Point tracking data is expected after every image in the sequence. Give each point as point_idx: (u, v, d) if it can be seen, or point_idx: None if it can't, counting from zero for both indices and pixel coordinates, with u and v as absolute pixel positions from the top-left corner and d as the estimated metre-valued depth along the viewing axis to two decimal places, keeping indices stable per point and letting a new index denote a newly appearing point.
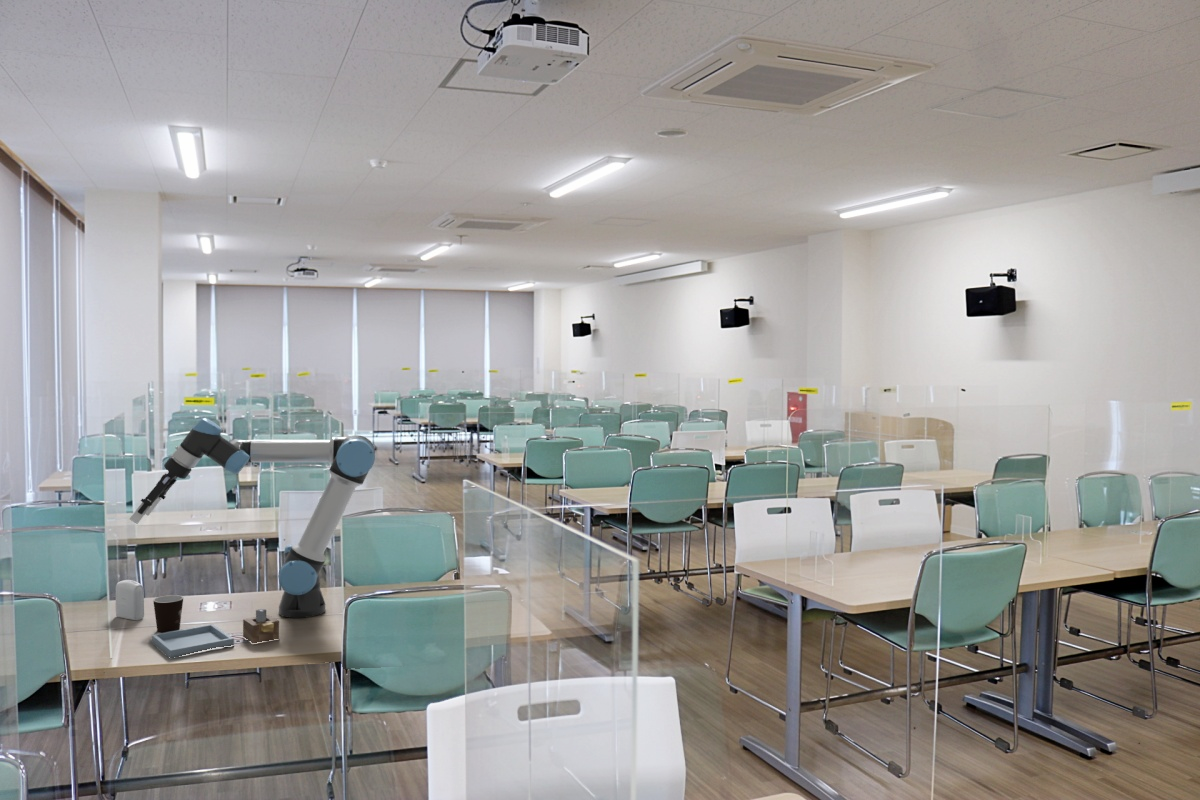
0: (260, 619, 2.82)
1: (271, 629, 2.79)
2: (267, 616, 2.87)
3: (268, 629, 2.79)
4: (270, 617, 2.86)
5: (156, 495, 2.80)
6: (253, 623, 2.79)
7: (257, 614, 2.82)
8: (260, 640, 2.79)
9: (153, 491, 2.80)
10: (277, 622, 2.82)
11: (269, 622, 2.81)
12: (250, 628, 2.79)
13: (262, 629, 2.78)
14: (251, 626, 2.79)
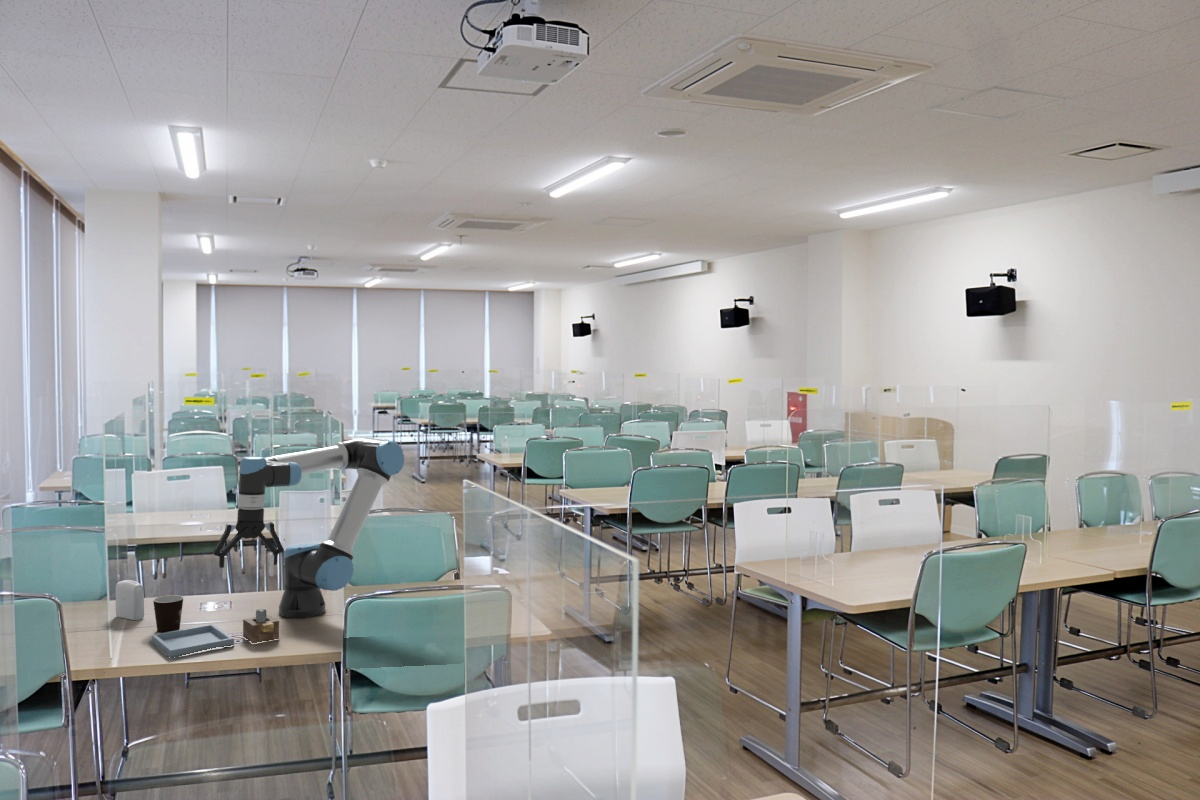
0: (260, 619, 2.82)
1: (271, 629, 2.79)
2: (267, 616, 2.87)
3: (268, 629, 2.79)
4: (270, 617, 2.86)
5: None
6: (253, 623, 2.79)
7: (257, 614, 2.82)
8: (260, 640, 2.79)
9: (278, 539, 2.85)
10: (277, 622, 2.82)
11: (269, 622, 2.81)
12: (250, 628, 2.79)
13: (262, 629, 2.78)
14: (251, 626, 2.79)
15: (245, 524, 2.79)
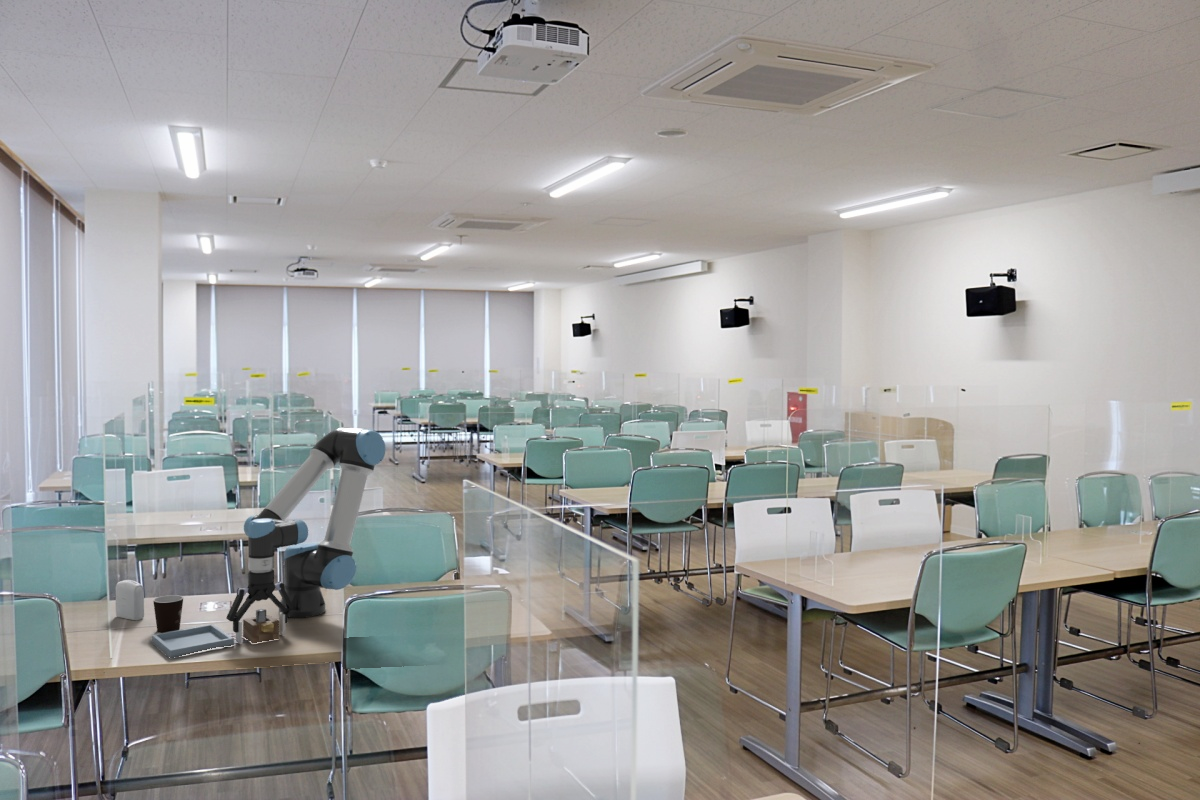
0: (260, 619, 2.82)
1: (271, 629, 2.79)
2: (267, 616, 2.87)
3: (268, 629, 2.79)
4: (270, 617, 2.86)
5: None
6: (253, 623, 2.79)
7: (257, 614, 2.82)
8: (260, 640, 2.79)
9: None
10: (277, 622, 2.82)
11: (269, 622, 2.81)
12: (250, 628, 2.79)
13: (262, 629, 2.78)
14: (251, 626, 2.79)
15: (257, 587, 2.81)
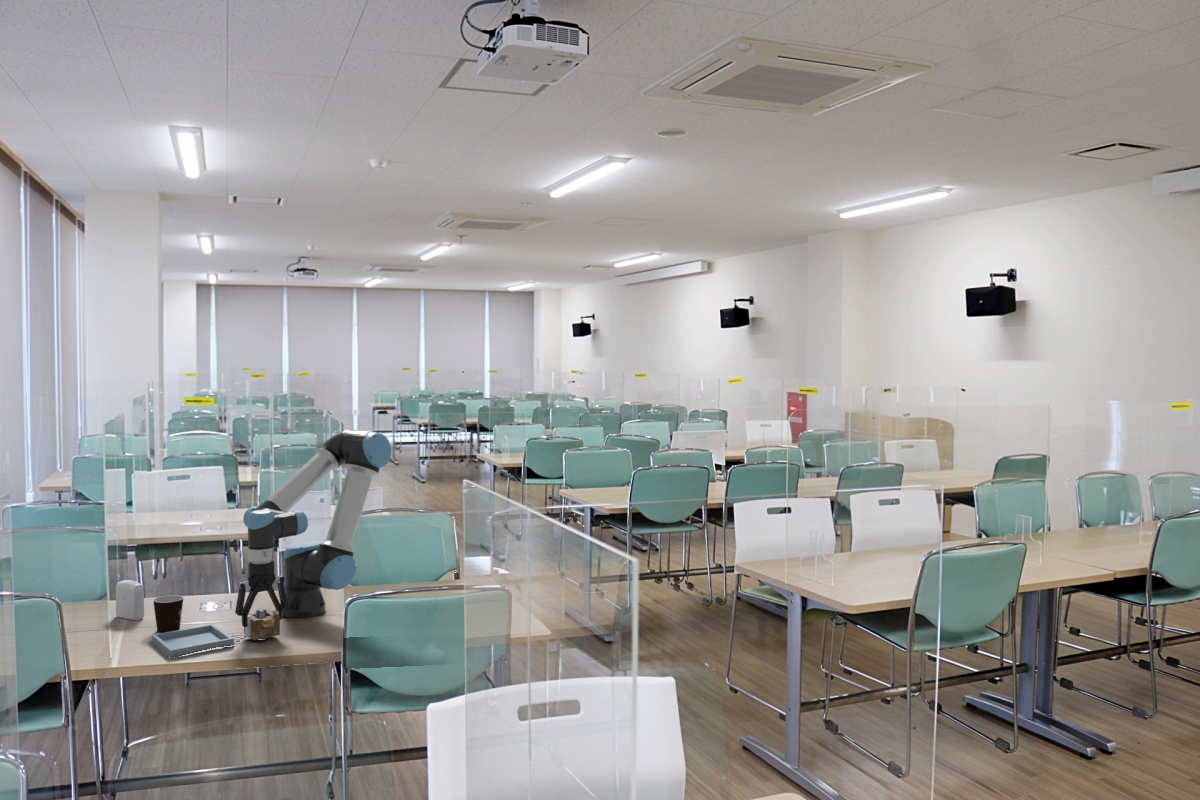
0: None
1: (272, 624, 2.79)
2: (268, 611, 2.87)
3: (269, 624, 2.79)
4: (271, 612, 2.86)
5: None
6: (254, 618, 2.80)
7: (257, 614, 2.82)
8: (261, 635, 2.79)
9: None
10: (278, 617, 2.83)
11: (270, 617, 2.81)
12: (251, 623, 2.79)
13: (263, 624, 2.79)
14: (252, 622, 2.79)
15: (256, 577, 2.80)
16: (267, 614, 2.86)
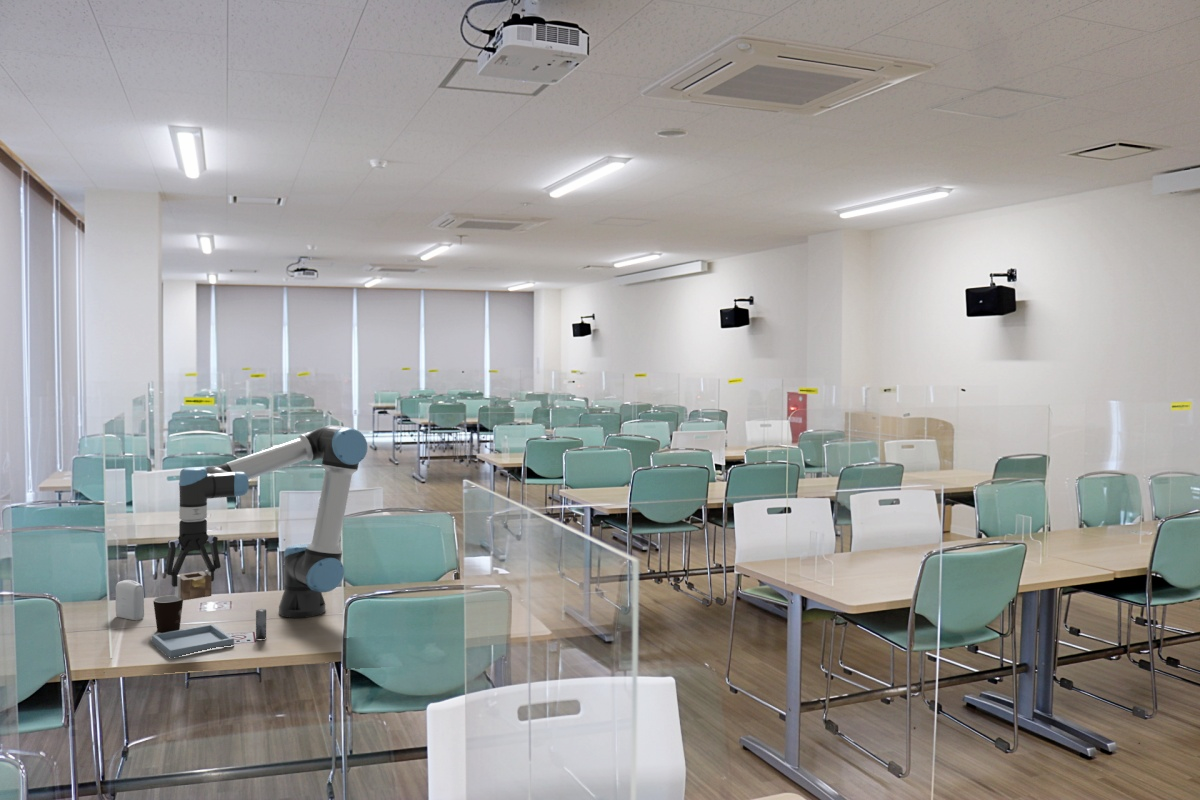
0: (260, 619, 2.82)
1: (202, 584, 2.72)
2: (200, 572, 2.79)
3: (199, 584, 2.71)
4: (203, 573, 2.78)
5: None
6: (184, 578, 2.72)
7: (257, 614, 2.82)
8: (191, 595, 2.72)
9: None
10: (209, 578, 2.75)
11: (201, 577, 2.73)
12: None
13: (193, 584, 2.71)
14: (181, 581, 2.71)
15: (187, 535, 2.73)
16: (199, 575, 2.78)
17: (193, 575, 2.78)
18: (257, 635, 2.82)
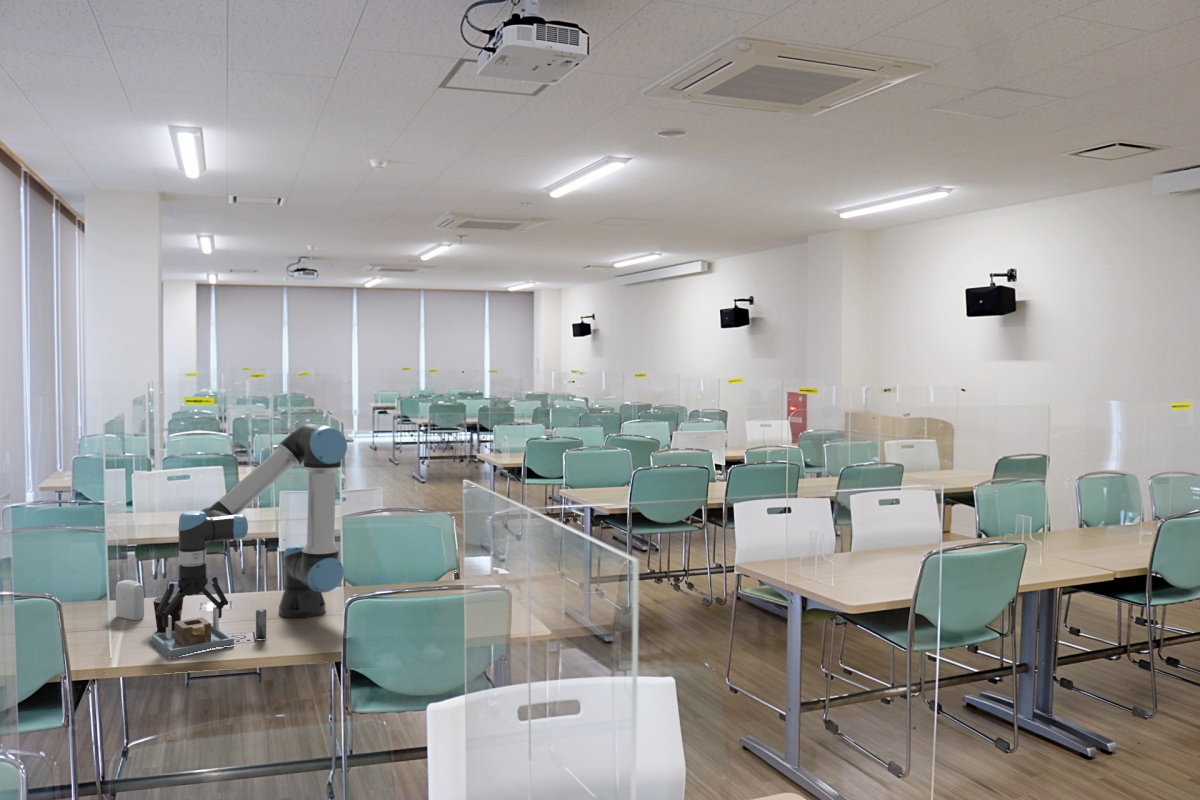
0: (260, 619, 2.82)
1: (202, 632, 2.72)
2: (200, 618, 2.80)
3: (199, 632, 2.72)
4: (203, 620, 2.79)
5: None
6: (184, 626, 2.73)
7: (257, 614, 2.82)
8: (191, 643, 2.72)
9: None
10: (209, 625, 2.76)
11: (200, 625, 2.74)
12: (180, 630, 2.72)
13: (193, 632, 2.72)
14: (181, 629, 2.72)
15: (188, 581, 2.74)
16: (199, 621, 2.79)
17: (193, 622, 2.79)
18: (257, 635, 2.82)
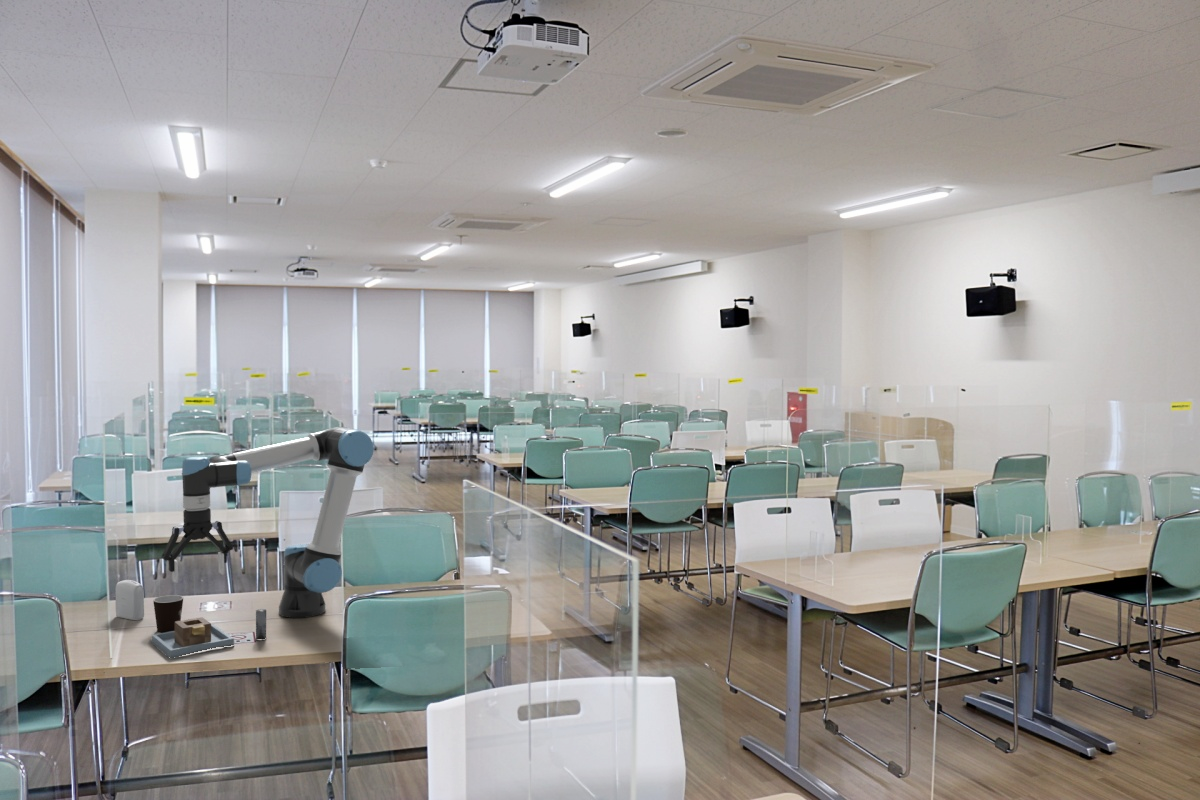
0: (260, 619, 2.82)
1: (202, 632, 2.72)
2: (200, 618, 2.80)
3: (199, 632, 2.72)
4: (203, 620, 2.79)
5: None
6: (184, 626, 2.73)
7: (257, 614, 2.82)
8: (191, 643, 2.72)
9: None
10: (209, 625, 2.76)
11: (200, 625, 2.74)
12: (180, 630, 2.72)
13: (193, 632, 2.72)
14: (181, 629, 2.72)
15: (193, 525, 2.75)
16: (199, 621, 2.79)
17: (193, 622, 2.79)
18: (257, 635, 2.82)
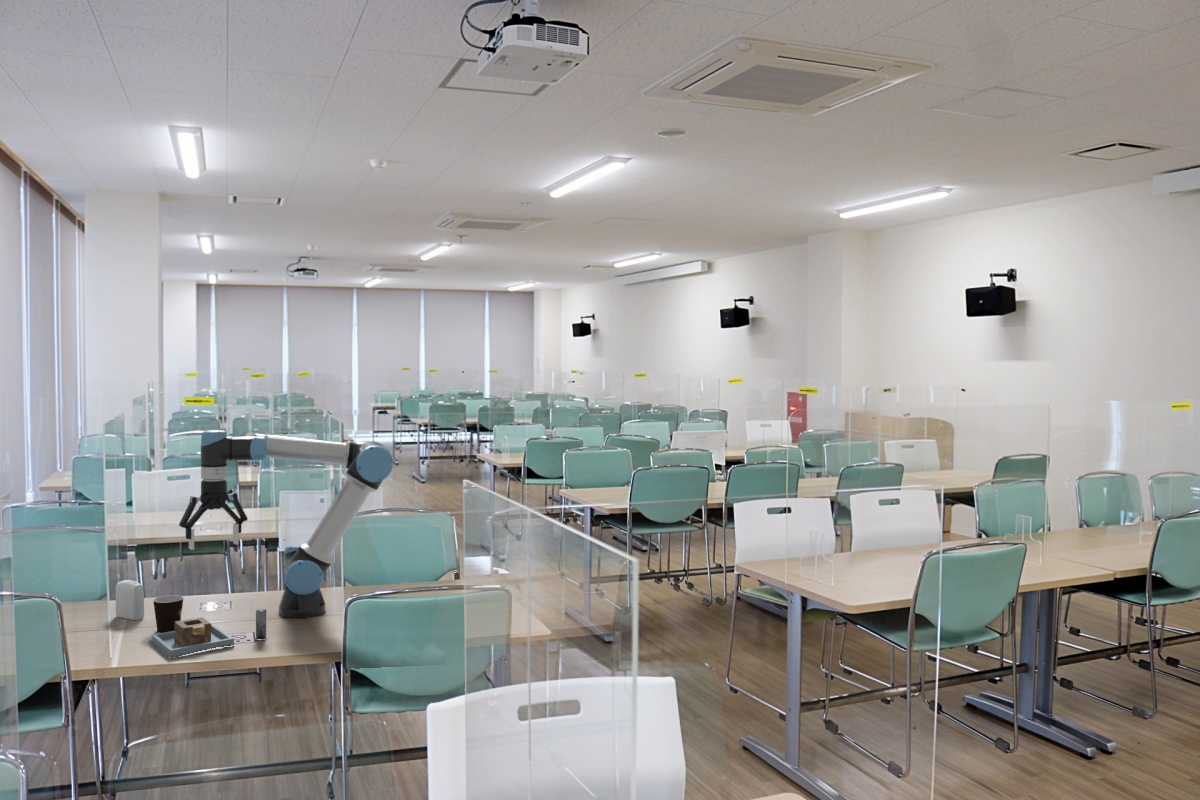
0: (260, 619, 2.82)
1: (202, 632, 2.72)
2: (200, 618, 2.80)
3: (199, 632, 2.72)
4: (203, 620, 2.79)
5: None
6: (184, 626, 2.73)
7: (257, 614, 2.82)
8: (191, 643, 2.72)
9: None
10: (209, 625, 2.76)
11: (200, 625, 2.74)
12: (180, 630, 2.72)
13: (193, 632, 2.72)
14: (181, 629, 2.72)
15: (210, 495, 2.87)
16: (199, 621, 2.79)
17: (193, 622, 2.79)
18: (257, 635, 2.82)
